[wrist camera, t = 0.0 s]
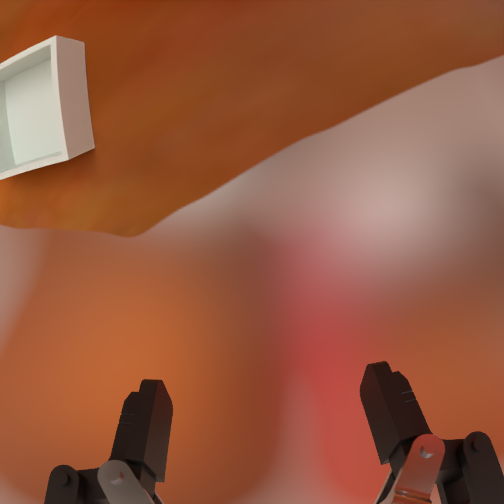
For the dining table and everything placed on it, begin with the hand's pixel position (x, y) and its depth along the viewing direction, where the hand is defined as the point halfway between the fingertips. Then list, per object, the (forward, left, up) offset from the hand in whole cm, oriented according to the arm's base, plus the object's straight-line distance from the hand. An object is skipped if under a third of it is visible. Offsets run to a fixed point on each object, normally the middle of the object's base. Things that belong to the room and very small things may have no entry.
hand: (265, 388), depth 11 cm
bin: (-14, -26, -29) cm, 42 cm away
